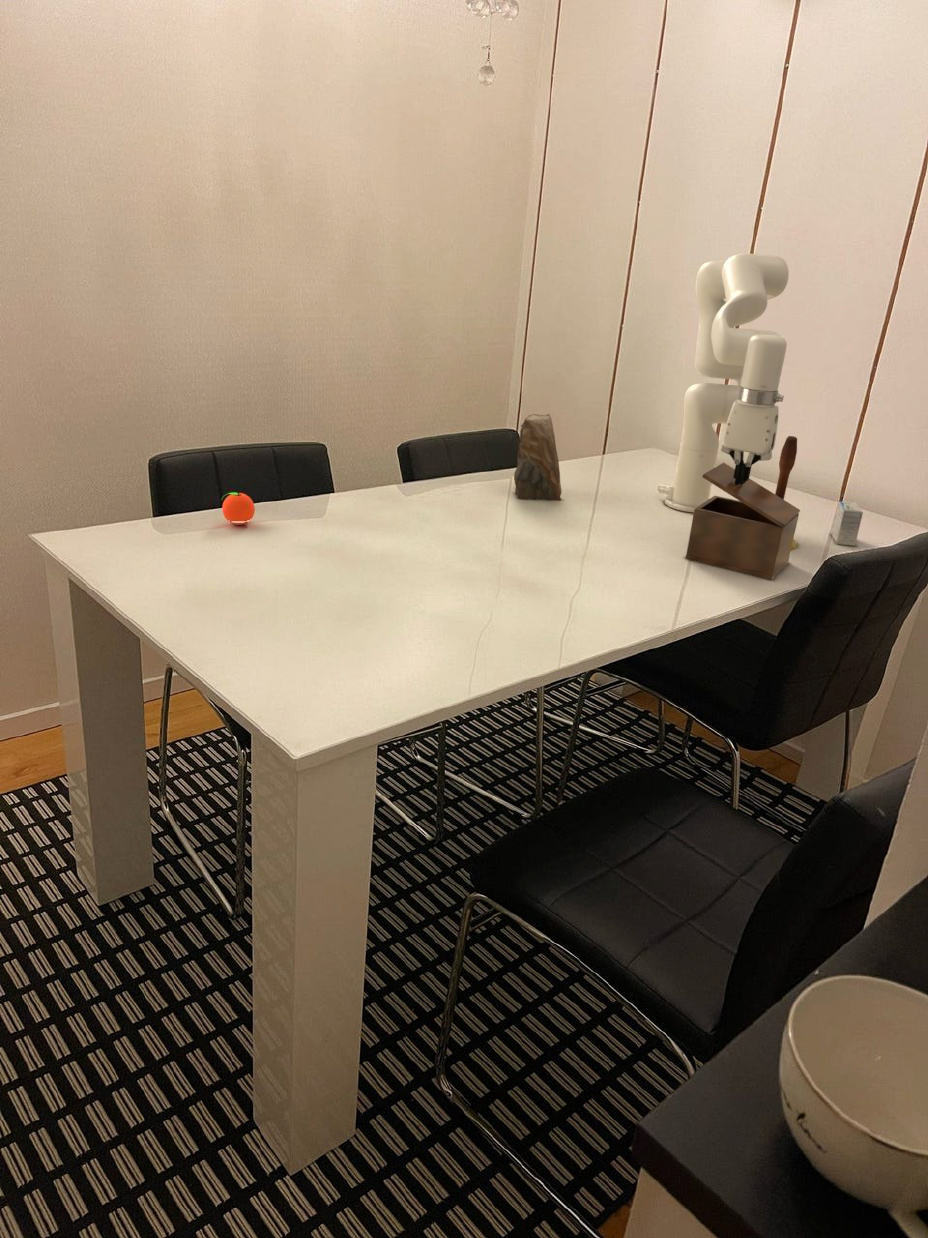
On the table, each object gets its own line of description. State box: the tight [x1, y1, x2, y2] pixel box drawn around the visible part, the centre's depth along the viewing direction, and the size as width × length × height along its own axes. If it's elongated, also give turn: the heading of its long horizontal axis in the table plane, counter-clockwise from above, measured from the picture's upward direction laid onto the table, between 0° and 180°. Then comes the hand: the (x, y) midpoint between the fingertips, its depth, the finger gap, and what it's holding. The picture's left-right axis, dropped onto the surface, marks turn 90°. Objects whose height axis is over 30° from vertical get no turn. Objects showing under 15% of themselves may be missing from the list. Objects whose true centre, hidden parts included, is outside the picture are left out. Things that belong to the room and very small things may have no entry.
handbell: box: [774, 435, 798, 550], centre depth 217 cm, size 12×12×25 cm
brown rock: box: [513, 413, 562, 501], centre depth 241 cm, size 13×13×20 cm
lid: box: [702, 462, 801, 528], centre depth 201 cm, size 20×14×1 cm
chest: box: [685, 495, 800, 581], centre depth 205 cm, size 19×14×12 cm
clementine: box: [220, 492, 256, 526], centre depth 204 cm, size 8×7×7 cm
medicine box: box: [831, 501, 864, 547], centre depth 225 cm, size 8×4×9 cm, turn 168°
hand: (740, 482), depth 202 cm, fingers closed
